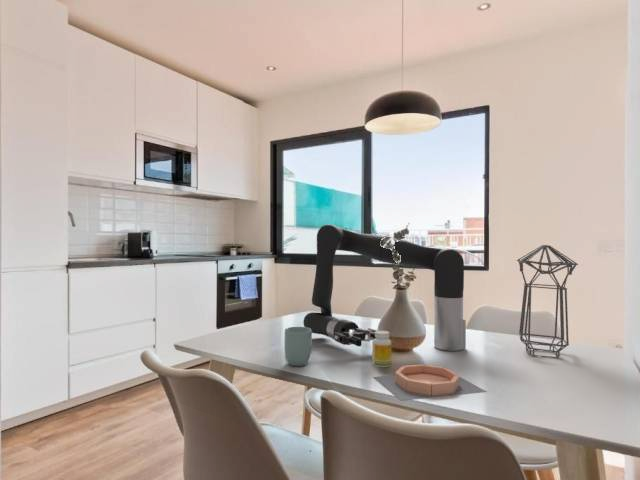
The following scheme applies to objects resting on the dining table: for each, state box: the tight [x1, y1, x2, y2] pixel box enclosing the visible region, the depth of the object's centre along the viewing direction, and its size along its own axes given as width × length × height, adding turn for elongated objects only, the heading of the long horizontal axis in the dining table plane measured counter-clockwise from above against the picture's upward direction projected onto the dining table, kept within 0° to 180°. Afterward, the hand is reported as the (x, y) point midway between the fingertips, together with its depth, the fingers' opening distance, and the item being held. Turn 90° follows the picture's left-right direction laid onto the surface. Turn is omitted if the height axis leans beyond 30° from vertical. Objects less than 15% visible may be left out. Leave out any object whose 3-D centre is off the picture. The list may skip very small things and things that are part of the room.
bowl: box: [394, 363, 460, 396], centre depth 98 cm, size 14×14×2 cm
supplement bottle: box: [371, 330, 392, 368], centre depth 114 cm, size 5×5×10 cm
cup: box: [283, 326, 313, 367], centre depth 115 cm, size 8×8×10 cm
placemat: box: [372, 374, 488, 402], centre depth 98 cm, size 22×16×1 cm
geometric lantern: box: [516, 244, 579, 359], centre depth 128 cm, size 16×16×35 cm
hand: (372, 341), depth 118 cm, fingers open, 8 cm apart
